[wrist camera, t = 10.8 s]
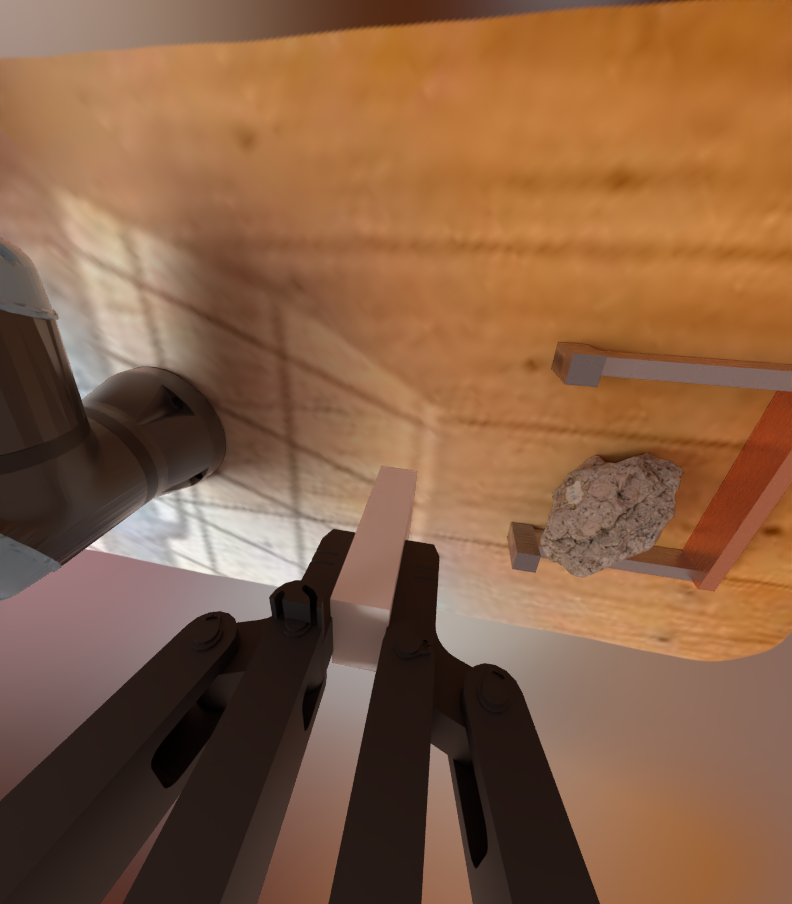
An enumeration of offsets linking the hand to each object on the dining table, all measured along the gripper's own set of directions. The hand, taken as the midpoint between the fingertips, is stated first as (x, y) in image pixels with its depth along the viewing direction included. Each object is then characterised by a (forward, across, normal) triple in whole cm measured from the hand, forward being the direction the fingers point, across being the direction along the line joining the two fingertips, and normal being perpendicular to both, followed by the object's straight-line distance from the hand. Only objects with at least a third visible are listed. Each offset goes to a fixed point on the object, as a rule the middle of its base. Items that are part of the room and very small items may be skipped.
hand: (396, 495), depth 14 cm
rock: (+21, +18, -10) cm, 30 cm away
